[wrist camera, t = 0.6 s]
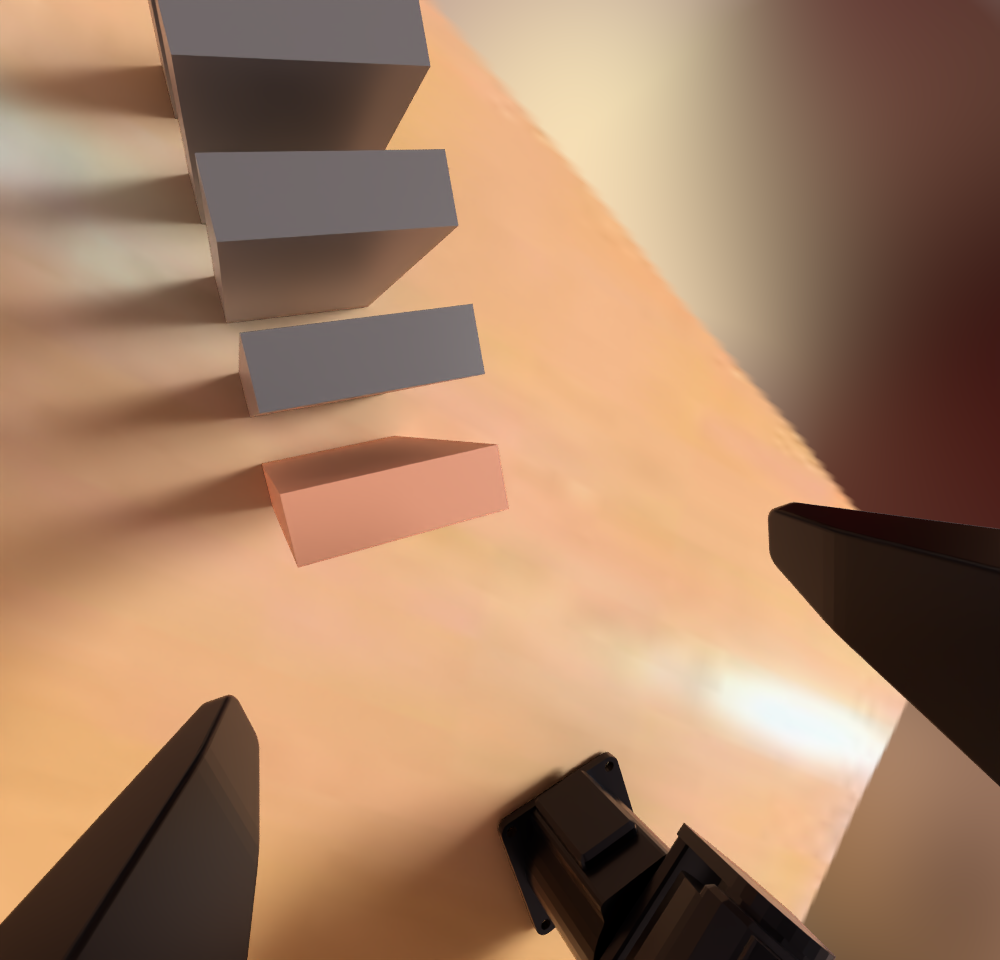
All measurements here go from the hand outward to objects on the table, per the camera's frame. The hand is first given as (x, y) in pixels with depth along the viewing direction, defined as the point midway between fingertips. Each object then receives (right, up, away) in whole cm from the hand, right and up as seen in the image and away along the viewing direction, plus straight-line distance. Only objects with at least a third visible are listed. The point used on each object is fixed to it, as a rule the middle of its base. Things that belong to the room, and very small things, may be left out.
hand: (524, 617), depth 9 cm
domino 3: (-7, +6, +12) cm, 15 cm away
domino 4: (-7, +3, +13) cm, 15 cm away
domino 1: (-8, +12, +11) cm, 19 cm away
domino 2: (-8, +9, +12) cm, 17 cm away
